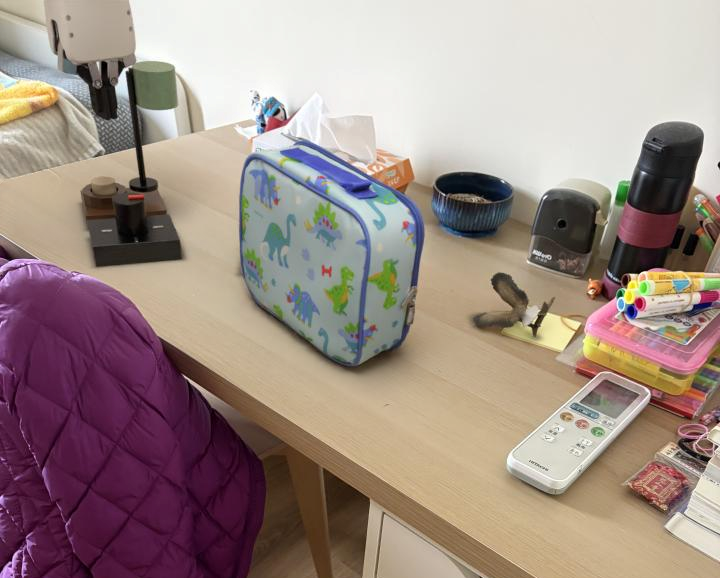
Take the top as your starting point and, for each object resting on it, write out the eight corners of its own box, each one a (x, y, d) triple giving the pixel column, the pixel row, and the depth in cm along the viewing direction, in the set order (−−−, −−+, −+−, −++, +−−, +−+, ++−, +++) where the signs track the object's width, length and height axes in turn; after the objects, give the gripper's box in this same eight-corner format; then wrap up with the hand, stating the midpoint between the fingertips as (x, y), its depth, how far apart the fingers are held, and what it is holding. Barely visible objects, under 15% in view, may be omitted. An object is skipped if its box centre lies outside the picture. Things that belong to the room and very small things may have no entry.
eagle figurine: (548, 311, 99) (489, 284, 100) (561, 286, 92) (498, 257, 93) (525, 356, 97) (465, 328, 99) (537, 334, 90) (473, 304, 92)
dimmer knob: (118, 236, 102) (113, 203, 98) (115, 224, 105) (110, 191, 101) (150, 234, 103) (146, 201, 100) (146, 221, 106) (141, 189, 103)
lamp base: (88, 229, 109) (83, 203, 107) (82, 203, 116) (78, 178, 113) (167, 223, 113) (165, 198, 110) (158, 199, 120) (155, 174, 117)
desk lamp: (132, 195, 110) (114, 72, 99) (127, 181, 114) (109, 61, 103) (188, 192, 113) (178, 71, 101) (182, 177, 117) (171, 60, 105)
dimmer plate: (96, 266, 101) (92, 245, 99) (90, 239, 107) (86, 218, 105) (181, 259, 105) (179, 238, 103) (171, 233, 111) (169, 213, 109)
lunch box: (420, 359, 90) (446, 191, 76) (355, 387, 84) (370, 212, 70) (297, 275, 104) (300, 120, 89) (234, 295, 98) (226, 133, 84)
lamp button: (93, 197, 110) (91, 185, 108) (91, 188, 112) (89, 176, 111) (118, 195, 111) (116, 184, 110) (115, 186, 113) (113, 175, 112)
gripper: (119, -55, 91) (138, 101, 104) (4, -52, 83) (41, 118, 95) (152, -46, 88) (168, 115, 100) (36, -41, 79) (70, 134, 92)
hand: (106, 116), depth 98 cm, fingers closed
